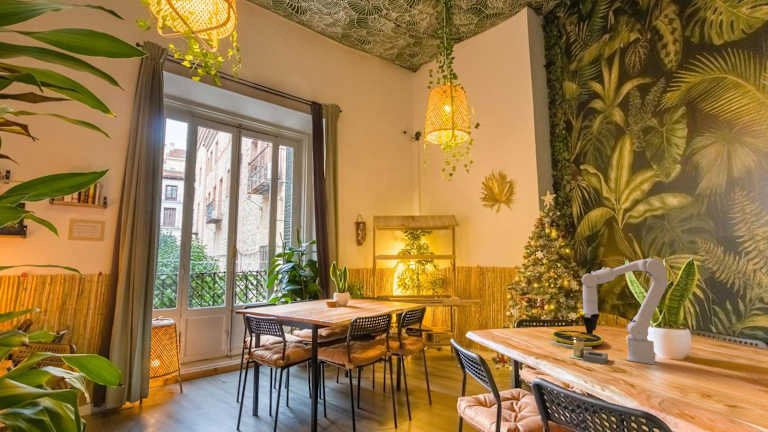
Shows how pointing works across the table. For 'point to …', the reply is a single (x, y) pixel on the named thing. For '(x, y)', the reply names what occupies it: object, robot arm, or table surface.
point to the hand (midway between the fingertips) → (591, 331)
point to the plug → (578, 347)
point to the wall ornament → (568, 335)
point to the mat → (575, 357)
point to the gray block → (595, 357)
